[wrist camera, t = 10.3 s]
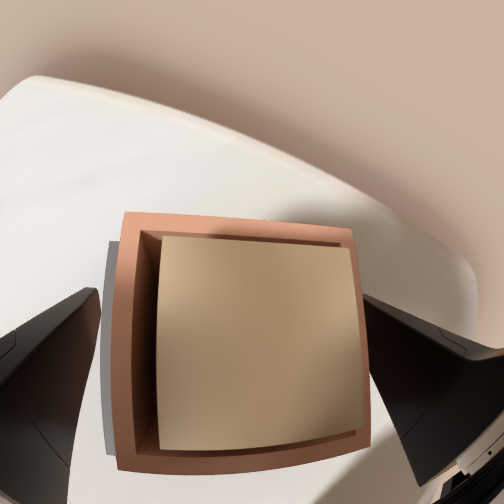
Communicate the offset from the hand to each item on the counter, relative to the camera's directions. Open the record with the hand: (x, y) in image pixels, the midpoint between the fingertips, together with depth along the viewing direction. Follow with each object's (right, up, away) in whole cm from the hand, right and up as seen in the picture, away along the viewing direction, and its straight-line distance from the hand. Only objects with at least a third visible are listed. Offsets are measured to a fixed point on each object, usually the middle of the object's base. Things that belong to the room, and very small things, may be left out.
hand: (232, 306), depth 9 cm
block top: (0, -1, -1) cm, 1 cm away
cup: (-2, -4, +7) cm, 9 cm away
